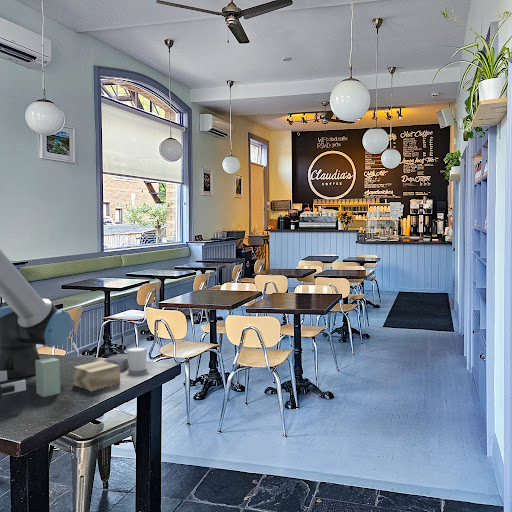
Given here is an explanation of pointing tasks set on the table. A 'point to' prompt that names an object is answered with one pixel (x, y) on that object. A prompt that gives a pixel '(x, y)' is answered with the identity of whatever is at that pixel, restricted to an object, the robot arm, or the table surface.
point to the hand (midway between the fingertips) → (15, 379)
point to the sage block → (47, 376)
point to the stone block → (119, 361)
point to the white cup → (137, 358)
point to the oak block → (96, 375)
